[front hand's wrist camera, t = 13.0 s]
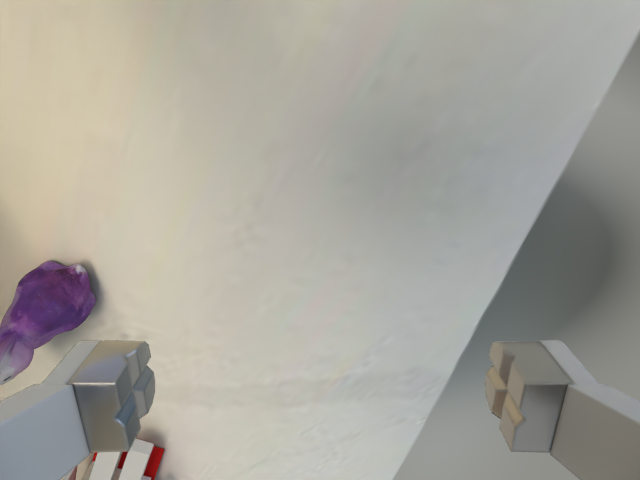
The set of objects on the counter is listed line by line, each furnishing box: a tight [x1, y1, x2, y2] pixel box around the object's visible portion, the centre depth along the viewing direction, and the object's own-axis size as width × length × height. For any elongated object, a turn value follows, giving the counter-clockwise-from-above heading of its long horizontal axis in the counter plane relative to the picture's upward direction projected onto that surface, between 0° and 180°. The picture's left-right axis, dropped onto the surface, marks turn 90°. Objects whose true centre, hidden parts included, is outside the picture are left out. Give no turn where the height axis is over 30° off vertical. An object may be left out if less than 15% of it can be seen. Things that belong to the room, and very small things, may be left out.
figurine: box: [0, 261, 96, 385], centre depth 49 cm, size 9×10×15 cm
